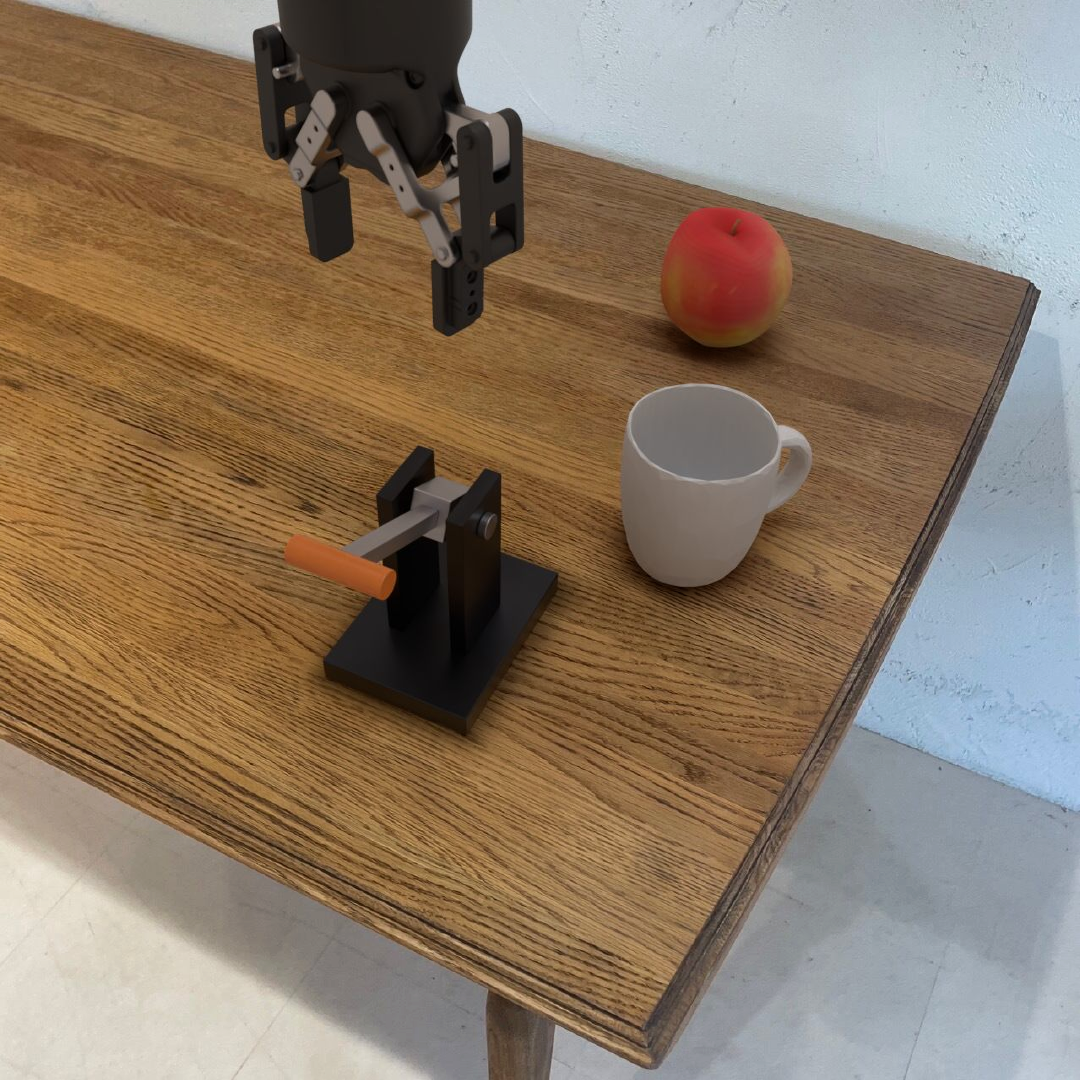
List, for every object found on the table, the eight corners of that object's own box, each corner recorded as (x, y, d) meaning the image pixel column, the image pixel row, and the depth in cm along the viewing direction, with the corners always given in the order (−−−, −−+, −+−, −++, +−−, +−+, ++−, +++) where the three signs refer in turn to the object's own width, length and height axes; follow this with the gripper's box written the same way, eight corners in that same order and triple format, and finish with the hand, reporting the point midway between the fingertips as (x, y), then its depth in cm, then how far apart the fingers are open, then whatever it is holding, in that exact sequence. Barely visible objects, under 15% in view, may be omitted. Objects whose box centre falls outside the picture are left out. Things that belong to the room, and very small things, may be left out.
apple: (696, 386, 84) (715, 268, 77) (630, 318, 90) (642, 203, 83) (802, 353, 87) (829, 237, 80) (732, 290, 93) (751, 176, 86)
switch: (376, 614, 50) (384, 565, 49) (280, 576, 51) (287, 528, 51) (489, 537, 61) (498, 496, 60) (407, 508, 62) (415, 467, 61)
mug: (655, 622, 68) (675, 500, 61) (588, 525, 73) (598, 403, 66) (831, 561, 72) (869, 440, 65) (754, 473, 78) (781, 353, 70)
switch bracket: (466, 736, 62) (462, 590, 53) (325, 677, 64) (299, 529, 56) (558, 589, 70) (567, 441, 61) (428, 541, 72) (420, 393, 64)
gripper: (170, -117, 43) (233, 260, 55) (429, -15, 37) (440, 390, 48) (324, -150, 47) (353, 207, 59) (582, -64, 41) (558, 320, 52)
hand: (392, 289), depth 53 cm, fingers open, 8 cm apart
